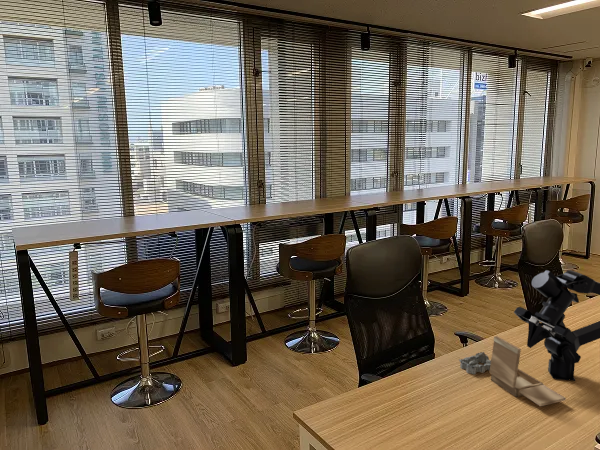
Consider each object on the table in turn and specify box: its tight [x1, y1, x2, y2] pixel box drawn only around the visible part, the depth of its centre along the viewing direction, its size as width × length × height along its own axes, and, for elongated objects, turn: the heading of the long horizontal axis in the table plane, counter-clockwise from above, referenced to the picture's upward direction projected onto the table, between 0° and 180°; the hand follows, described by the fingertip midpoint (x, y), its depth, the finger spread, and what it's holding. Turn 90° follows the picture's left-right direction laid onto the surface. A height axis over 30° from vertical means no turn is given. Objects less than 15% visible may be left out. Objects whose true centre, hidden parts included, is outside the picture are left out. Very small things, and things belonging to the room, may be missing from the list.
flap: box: [489, 336, 522, 388], centre depth 146 cm, size 1×10×12 cm, turn 18°
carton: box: [490, 368, 566, 407], centre depth 145 cm, size 10×20×2 cm, turn 18°
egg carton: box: [458, 351, 491, 375], centre depth 161 cm, size 11×8×4 cm
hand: (528, 346), depth 148 cm, fingers closed
